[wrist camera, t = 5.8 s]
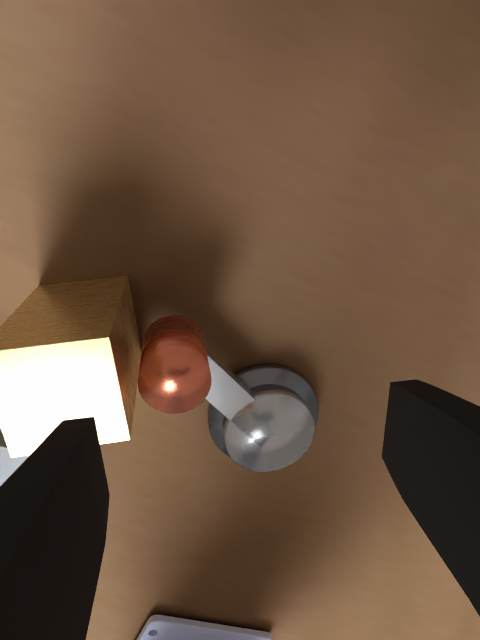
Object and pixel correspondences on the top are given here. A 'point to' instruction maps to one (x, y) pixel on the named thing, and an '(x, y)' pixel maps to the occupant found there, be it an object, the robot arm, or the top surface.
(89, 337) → the block
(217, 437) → the bearing
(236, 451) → the crank
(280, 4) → the top surface
